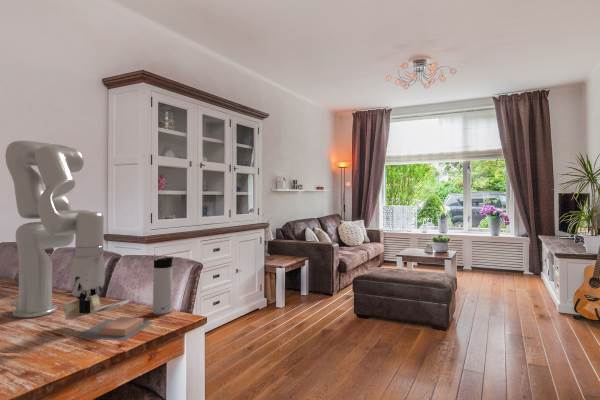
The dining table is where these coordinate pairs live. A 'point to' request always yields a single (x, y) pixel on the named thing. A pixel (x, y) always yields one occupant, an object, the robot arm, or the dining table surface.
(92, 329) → the grey square plate
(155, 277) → the travel mug
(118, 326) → the tile
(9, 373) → the dining table surface
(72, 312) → the beige rectangular bar
